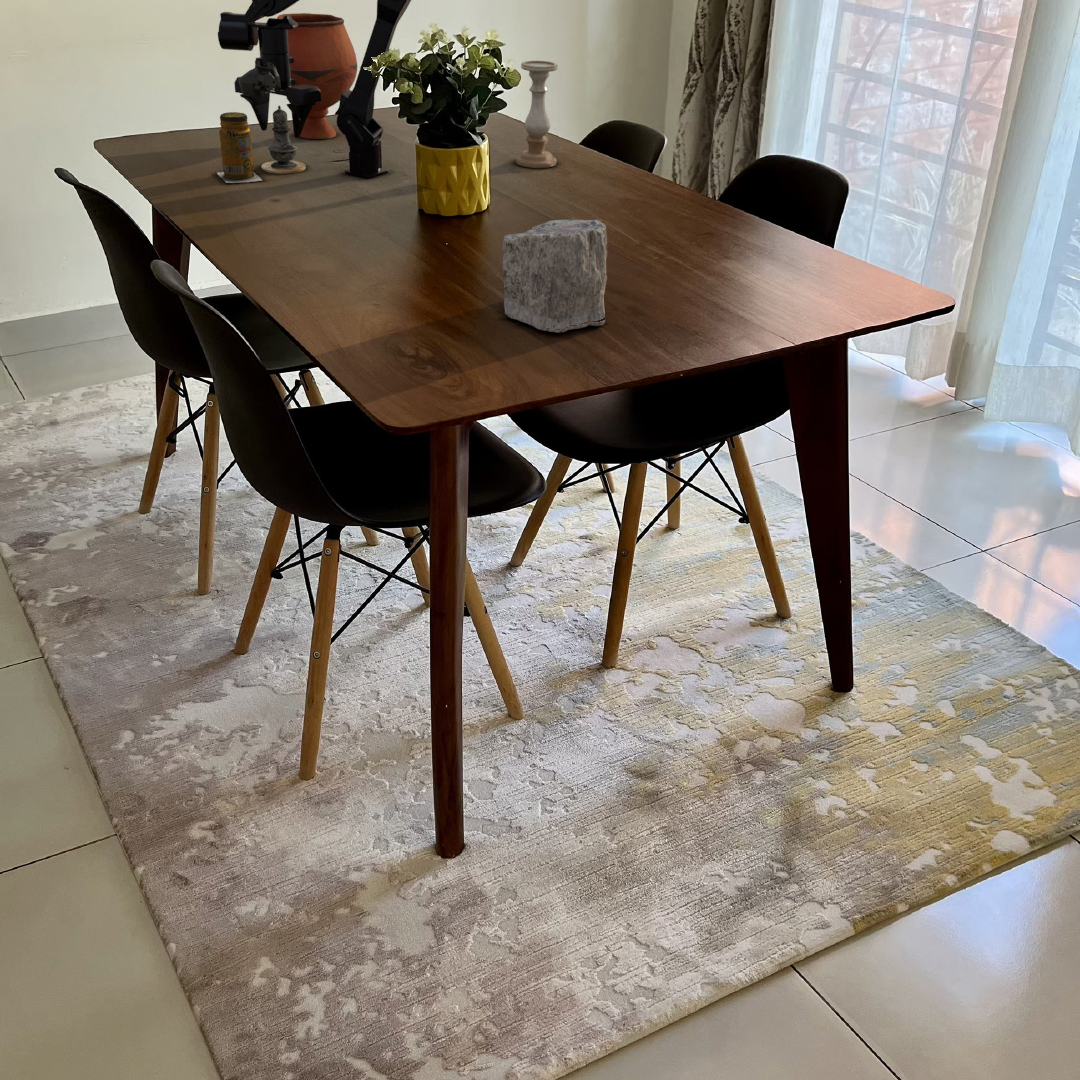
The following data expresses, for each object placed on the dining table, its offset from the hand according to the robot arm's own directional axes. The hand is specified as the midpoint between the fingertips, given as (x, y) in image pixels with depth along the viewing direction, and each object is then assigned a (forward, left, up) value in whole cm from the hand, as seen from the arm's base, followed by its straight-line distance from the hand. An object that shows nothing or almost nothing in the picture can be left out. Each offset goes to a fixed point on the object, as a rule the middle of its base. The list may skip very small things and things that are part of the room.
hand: (280, 133), depth 242 cm
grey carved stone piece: (0, 0, -7) cm, 7 cm away
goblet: (-26, -14, -7) cm, 31 cm away
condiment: (+11, -1, -7) cm, 13 cm away
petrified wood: (+34, +90, -7) cm, 96 cm away
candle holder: (-38, +38, -7) cm, 54 cm away
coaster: (0, 0, -7) cm, 7 cm away
